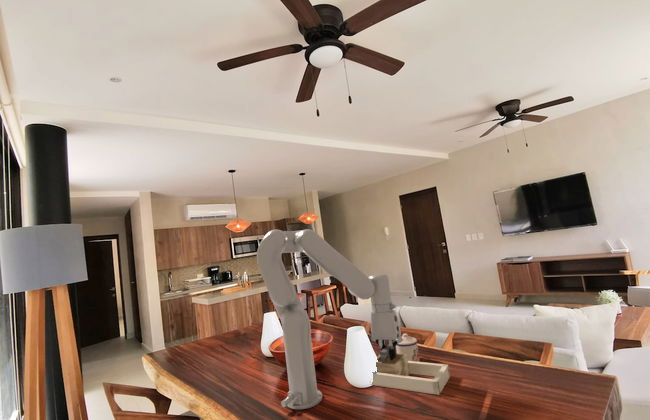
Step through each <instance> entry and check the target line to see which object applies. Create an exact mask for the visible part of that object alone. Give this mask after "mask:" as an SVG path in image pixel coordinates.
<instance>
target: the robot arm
mask: <svg viewBox="0 0 650 420" xmlns="http://www.w3.org/2000/svg"><path fill="white" fill-rule="evenodd" d="M287 253H304V255H306V256H307V257H308V258H309V259H310V260H312V261H313V262H314V264H316V265H317V266H318V267H319V268H320V269H322V270H323V271H324V272H325V273H326V274H328V275H329V276H332V277H333V278H335V279H336V280H338V281H340V283H342V284H343V285H344V286H346V288H347V291H348V292H349V293H350V294H351V296H354V297H355V298H357V299H360V300H369V299H370V303H371V309H372V310H371V312H370V330H371V336H370V340H371V341H372V342H374V343H375V344H377V345H378V347H379V349H380V351H382V350H383V349H384V348H385V347H386V346H387V345H386V341H388V343H389V344H388V345H390V349H389V355H390V360H393V359H394V358H395V357H396V354H397V352H396V353H395V346H396V345H397V344H398V343H401V342H402V341H403V339H402V331H401V326H400V322H399V318H398V314H397V312H396V310H395V309H396V307H397V306H396V304H393V301H392V295H391V289H390V281H389V277H388V276H389V275H387V274H386V273H375V274H370V275H366V274H365V273H364V272H363V271H362V270H361V269H359V268H358V267H357V266H356V265H354V264H353V263H352V262H351V261H350V260H348V259H347V258H346V257H344V256H343V255H342V254H341V253H340V252H339V251H337V250H336V249H335V248H334V247H332V245H331V244H329V243H328V242H327V240H325V239H324V238H323V237H322V236H321V235H320V234H319V233H317V232H316V231H315V230H313V229H309V228H306V229H302V230H281V229H272V230H269V231H268V232H267V233H266V234H265V235H264V237H263V238H262V239H261V241H260V243H259V245H258V248H257V251H256V263H257V266H258V270H259V271H260V275H261V277H262V280H263V282H264V285H265V287H266V289H267V292H268V296H269V299H270V300H271V302H272V304H273V306H274V308H275V310H276V313H277V315H278V317H279V319H280V321H281V327H282V334H283V345H284V353H285V363H286V371H287V372H286V373H287V381H288V389H289V391H287V396H286V397H285V398H284V399H283V400H282V401H280V405H281V407H282V408H286V407H288V408H289V409H293V410H305V409H310V408H312V407H315V406H317V405H319V404H320V403H321V401H322V400H323V393H322V392H321V391H320V390H319V389H318V386H317V376H316V368H315V361H314V352H313V344H312V335H311V334H312V328H311V320H310V317H309V315H308V312H307V311H306V310H305V308H304V307H303V305H302V302H301V300H300V298H299V296H298V294H297V292H296V291H297V290H296V287H295V285H294V284H293V282H292V281H291V279H290V276H289V275H288V272H287V270H286V268H285V267H286V266H285V264H284V262H283V260H282V259H283V258H282V254H287ZM396 339H397V340H396ZM387 357H388V356H387ZM387 357H386V358H387Z"/></svg>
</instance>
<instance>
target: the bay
mask: <svg viewBox="0 0 650 420" xmlns="http://www.w3.org/2000/svg"><path fill="white" fill-rule="evenodd" d="M408 365H409V372H410V374H409V376H403V375H395V374H387V373H379V372H376V371H375V372H372V373H373V382H372V384H371V383H370V385H371V386H377V387H382V388H383V387H385V388H390V389H397V390H402V391H403V390H404V391H410V392H416V393H422V394H431V395H438V396H440V394H441V393H442V391H443V389H444V388H445V385H446V384H447V383H448V381H449V379H450V378H451V374H450V366H449V364H444V363H433V362H426V361H425V362H424V361H419V362H415V361H408ZM411 374H412V375H419V376H427V377H434V378H427V377H426V378H425V377H418V376H410V375H411Z"/></svg>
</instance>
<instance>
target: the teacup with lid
mask: <svg viewBox="0 0 650 420" xmlns="http://www.w3.org/2000/svg"><path fill="white" fill-rule="evenodd" d="M401 337H402V339H403V341H402V342H401V343H398V344H397V345H396V354H406V355H407V358H408V361H415V362H421V361H420V355H419V354H420V353H419V347H418V346H419V345H418V339H416V337H413V336H410V335H408V333H403V334H402V335H401ZM396 340H397V339H396Z"/></svg>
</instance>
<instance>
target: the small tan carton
mask: <svg viewBox="0 0 650 420" xmlns="http://www.w3.org/2000/svg"><path fill="white" fill-rule="evenodd" d="M385 346H386V347H385V348H384V349H383V350H382V351H381V350H380V351H379V355H377V360H378V362H376V367H377V372H379V373H387V374H395V375H403V376H410V375H411V374H410V372H409V365H408V358H407V355H406V354H397V349H396V346H395V353H396V357H395V358H394V359H393V360H390V355H389V349H390V345H389V344H388V345H385ZM387 356H388V357H387ZM386 357H387V358H386Z"/></svg>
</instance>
